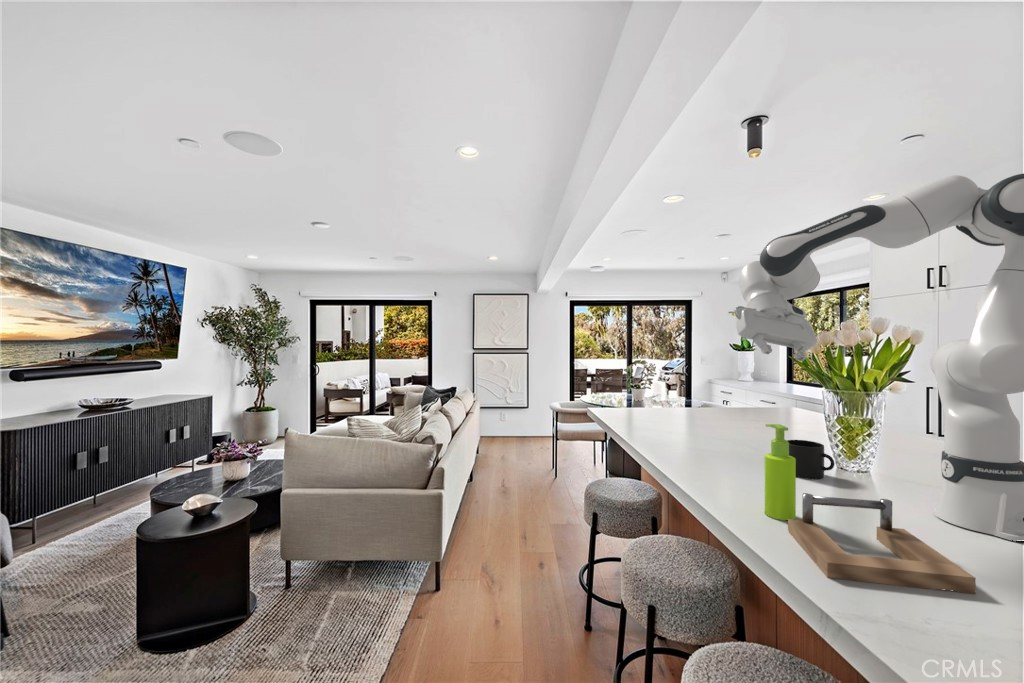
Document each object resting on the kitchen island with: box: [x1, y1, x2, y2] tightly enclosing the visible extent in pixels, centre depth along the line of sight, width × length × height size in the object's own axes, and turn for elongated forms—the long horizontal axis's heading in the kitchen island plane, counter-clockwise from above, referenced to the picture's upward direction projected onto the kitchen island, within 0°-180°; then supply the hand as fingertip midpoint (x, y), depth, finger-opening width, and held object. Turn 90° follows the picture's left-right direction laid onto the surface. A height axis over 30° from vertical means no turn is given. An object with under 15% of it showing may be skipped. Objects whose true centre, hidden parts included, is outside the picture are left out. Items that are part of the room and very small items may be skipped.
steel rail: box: [801, 492, 893, 531], centre depth 87 cm, size 15×2×6 cm, turn 76°
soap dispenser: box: [764, 423, 797, 521], centre depth 99 cm, size 6×7×20 cm
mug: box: [786, 439, 835, 480], centre depth 127 cm, size 9×12×9 cm
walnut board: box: [787, 519, 977, 595], centre depth 80 cm, size 20×18×2 cm
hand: (784, 356), depth 108 cm, fingers open, 8 cm apart
